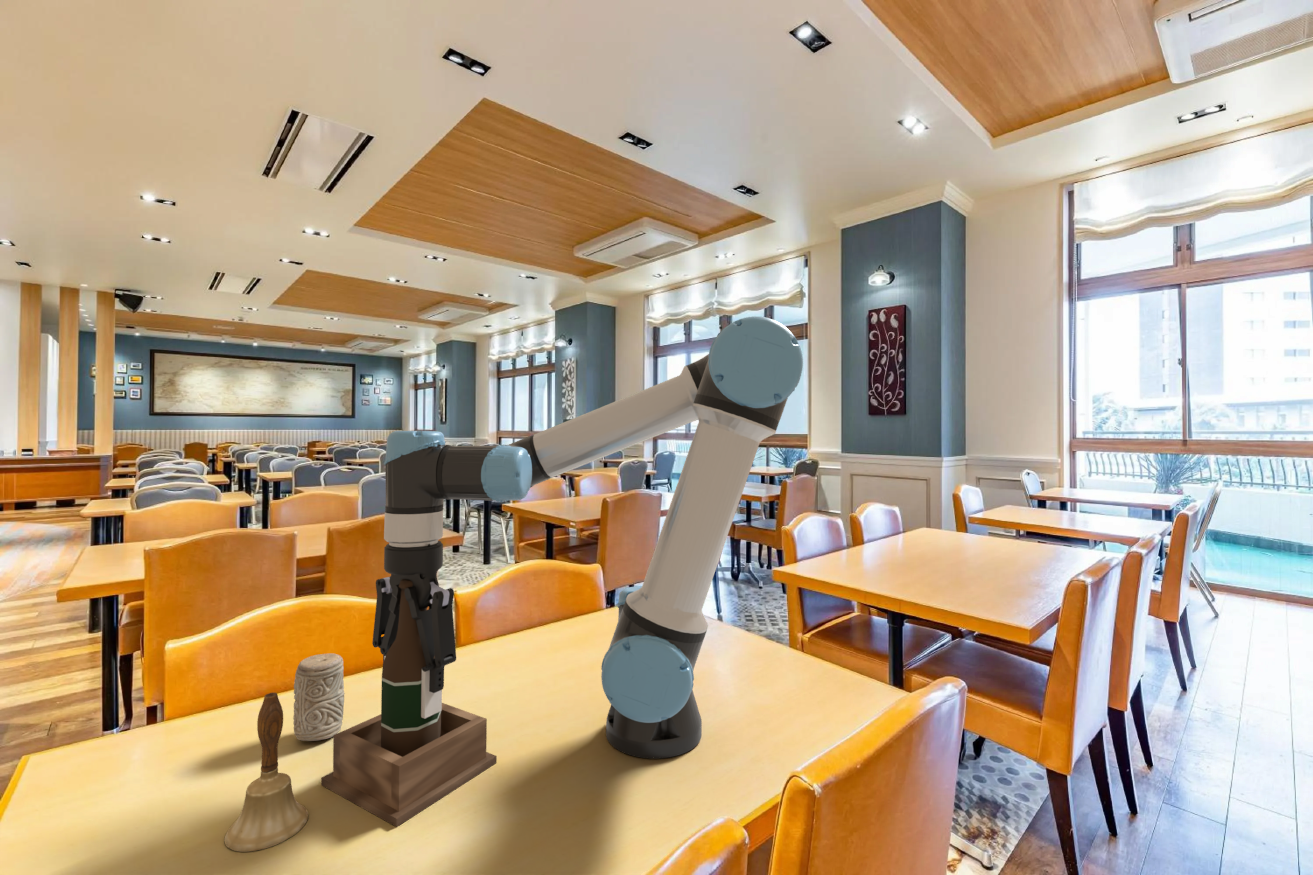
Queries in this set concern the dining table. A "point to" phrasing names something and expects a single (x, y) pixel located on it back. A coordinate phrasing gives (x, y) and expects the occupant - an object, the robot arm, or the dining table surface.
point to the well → (407, 766)
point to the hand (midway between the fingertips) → (412, 706)
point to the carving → (318, 697)
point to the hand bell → (267, 792)
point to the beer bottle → (405, 689)
